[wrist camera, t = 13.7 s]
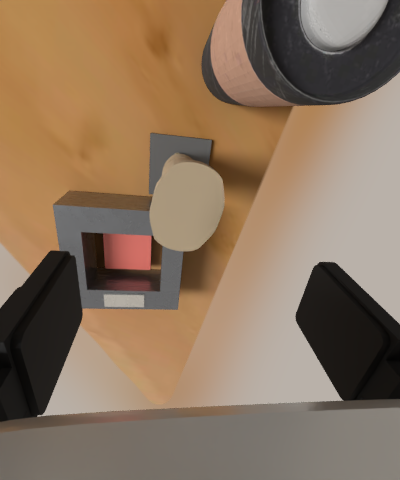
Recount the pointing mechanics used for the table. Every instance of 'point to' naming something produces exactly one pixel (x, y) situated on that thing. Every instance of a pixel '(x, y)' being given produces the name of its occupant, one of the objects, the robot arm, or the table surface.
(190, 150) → the mat
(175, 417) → the robot arm
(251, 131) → the table surface
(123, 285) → the grey shallow box
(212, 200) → the handle
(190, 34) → the table surface
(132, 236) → the button
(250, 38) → the travel mug
